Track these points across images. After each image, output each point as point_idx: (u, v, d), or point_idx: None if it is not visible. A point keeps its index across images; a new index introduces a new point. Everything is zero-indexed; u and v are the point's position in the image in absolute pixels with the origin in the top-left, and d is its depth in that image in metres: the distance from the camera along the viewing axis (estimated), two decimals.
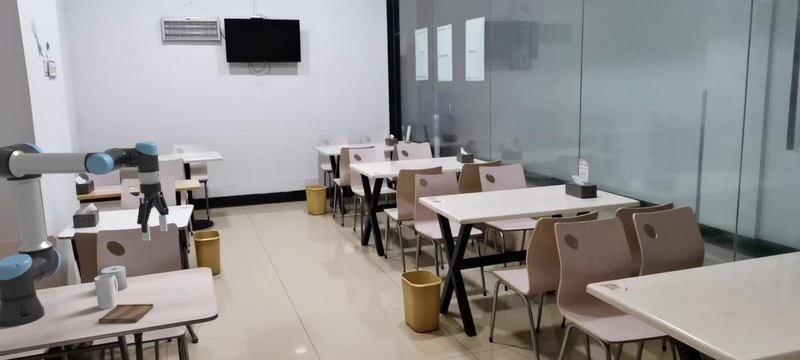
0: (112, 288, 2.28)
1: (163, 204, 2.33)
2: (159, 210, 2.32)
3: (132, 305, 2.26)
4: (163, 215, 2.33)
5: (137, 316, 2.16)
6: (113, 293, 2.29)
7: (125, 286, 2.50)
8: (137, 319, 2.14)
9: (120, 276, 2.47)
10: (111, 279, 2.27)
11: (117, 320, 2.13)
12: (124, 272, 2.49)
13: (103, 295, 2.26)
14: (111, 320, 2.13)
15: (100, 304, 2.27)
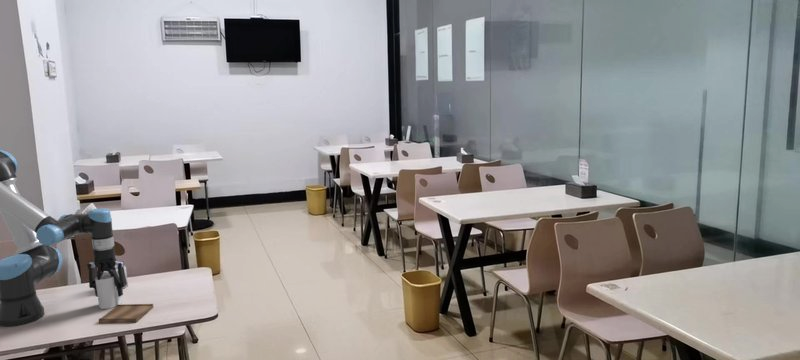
0: (113, 288, 2.28)
1: None
2: None
3: (132, 305, 2.26)
4: None
5: (137, 316, 2.16)
6: (114, 293, 2.29)
7: (126, 285, 2.50)
8: (137, 319, 2.14)
9: None
10: (112, 279, 2.27)
11: (117, 320, 2.13)
12: (125, 271, 2.50)
13: (104, 295, 2.26)
14: (111, 320, 2.13)
15: (101, 304, 2.27)
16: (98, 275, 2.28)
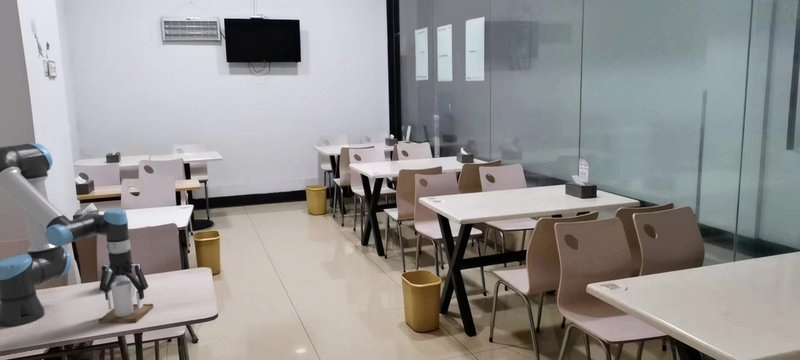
0: (129, 295, 2.17)
1: None
2: None
3: None
4: (137, 291, 2.18)
5: (137, 316, 2.16)
6: (130, 300, 2.17)
7: None
8: (137, 319, 2.14)
9: (121, 275, 2.49)
10: (128, 285, 2.16)
11: (117, 320, 2.13)
12: None
13: (120, 302, 2.15)
14: (111, 320, 2.13)
15: (117, 312, 2.16)
16: (111, 278, 2.17)
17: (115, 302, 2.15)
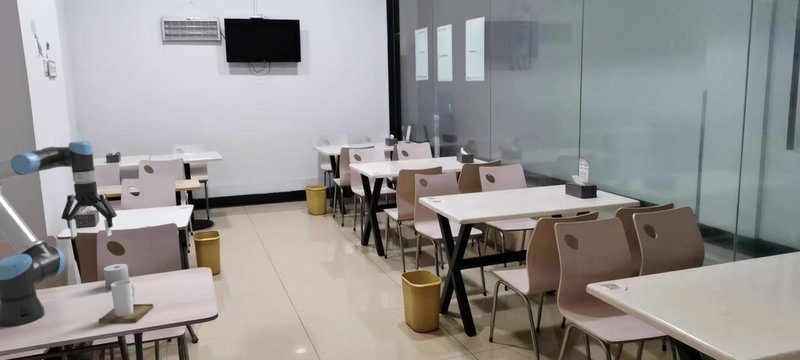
0: (129, 295, 2.17)
1: None
2: None
3: None
4: (106, 219, 2.23)
5: (137, 316, 2.16)
6: (130, 300, 2.17)
7: None
8: (137, 319, 2.14)
9: (122, 274, 2.49)
10: (128, 285, 2.16)
11: (117, 320, 2.13)
12: (126, 270, 2.52)
13: (120, 302, 2.15)
14: (111, 320, 2.13)
15: (117, 312, 2.16)
16: (75, 208, 2.22)
17: (115, 302, 2.15)
